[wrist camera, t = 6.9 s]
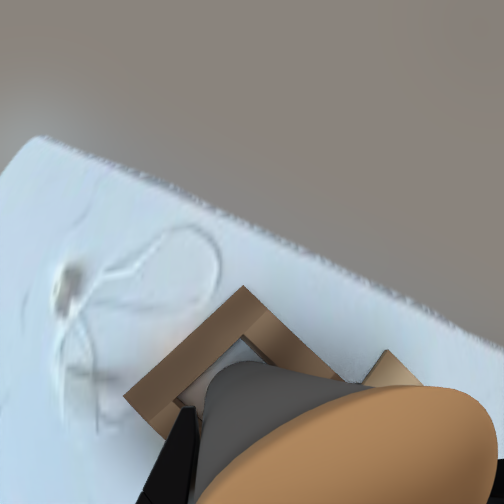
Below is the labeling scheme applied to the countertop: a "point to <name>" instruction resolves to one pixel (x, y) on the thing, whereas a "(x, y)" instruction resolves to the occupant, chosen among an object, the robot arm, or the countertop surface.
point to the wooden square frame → (211, 348)
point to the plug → (340, 442)
